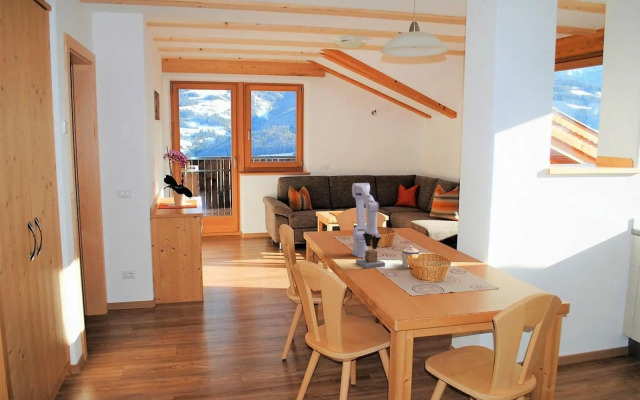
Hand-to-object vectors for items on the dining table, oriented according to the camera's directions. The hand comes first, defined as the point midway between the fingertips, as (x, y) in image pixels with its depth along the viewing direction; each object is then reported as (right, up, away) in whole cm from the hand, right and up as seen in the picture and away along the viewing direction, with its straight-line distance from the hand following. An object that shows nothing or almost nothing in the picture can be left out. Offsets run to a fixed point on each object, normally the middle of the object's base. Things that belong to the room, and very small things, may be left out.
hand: (371, 247), depth 277 cm
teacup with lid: (+21, -10, -1) cm, 23 cm away
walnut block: (0, -8, +1) cm, 8 cm away
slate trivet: (-1, -10, +1) cm, 10 cm away
